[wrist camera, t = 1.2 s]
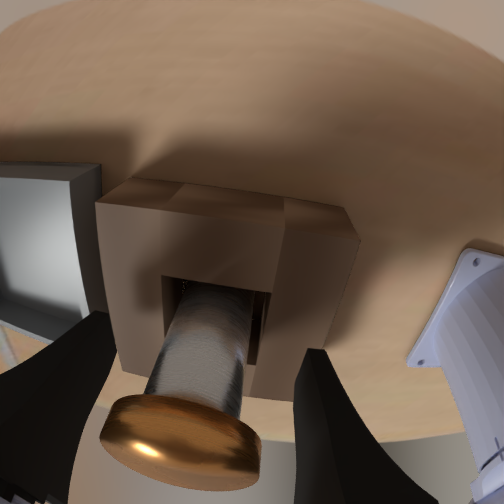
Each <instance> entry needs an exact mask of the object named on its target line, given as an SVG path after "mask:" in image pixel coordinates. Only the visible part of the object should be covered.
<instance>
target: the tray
mask: <svg viewBox="0 0 504 504" xmlns="http://www.w3.org/2000/svg"><path fill="white" fill-rule="evenodd" d="M101 197H102V188H101V164H85V163H61V162H0V324H1V325H3V326H5V327H7V328H10V329H12V330H14V331H17V332H19V333H21V334H24V335H26V336H29V337H31V338H33V339H36V340H39V341H41V342H44V343H46V344H51V343H52V342H54V341H55V340H56V339H58V338H59V337H60V336H62V335H63V334H64V333H66V332H67V331H68V330H70V329H71V328H72V327H73V326H75V325H76V324H77V323H79V322H80V321H81V320H82V319H84V318H85V317H86V316H88V315H89V314H90V313H92V312H93V311H95V310H97V311H101V312H105V313H109V308H108V302H107V297H106V291H105V285H104V278H103V272H102V265H101V257H100V249H99V241H98V231H97V221H96V208H95V202H96V201H97V200H99V199H100V198H101ZM109 316H110V313H109ZM110 321H111V318H110ZM111 326H112V323H111ZM112 330H113V328H112ZM113 335H114V332H113ZM114 339H115V337H114Z"/></svg>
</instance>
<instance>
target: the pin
mask: <svg viewBox="0 0 504 504" xmlns="http://www.w3.org/2000/svg"><path fill="white" fill-rule="evenodd" d="M254 298H255V290H249V289H242V288H236V287H230V286H223V285H217V284H211V283H205V282H199V281H193V280H189V282H188V285H187V287H186V289H185V292H184V294H183V296H182V299H181V301H180V303H179V306H178V308H177V310H176V313H175V315H174V318H173V320H172V323H171V325H170V327H169V330H168V332H167V335H166V337H165V340H164V342H163V345H162V347H161V350H160V352H159V355H158V357H157V360H156V362H155V365H154V367H153V370H152V372H151V375H150V378H149V380H148V383H147V385H146V388H145V391H144V393H143V394H139V395H130V396H126V397H122V398H120V399H118V400H117V401H116V402H114V404H113V405H112V407H111V409H110V412H109V414H108V416H107V419H106V421H105V424H104V426H103V428H102V431H101V433H100V442H101V444H102V446H103V447H104V449H105V450H106V451H107V452H108V453H109V454H110V455H111V456H113V457H114V458H115V459H116V460H118V461H119V462H121V463H122V464H124V465H125V466H127V467H129V468H130V469H132V470H134V471H136V472H139V473H140V474H142V475H145V476H147V477H150V478H152V479H155V480H158V481H161V482H164V483H167V484H171V485H174V486H179V487H183V488H188V489H195V490H204V491H233V490H238V489H243V488H247V487H249V486H252V485H253V484H255V483H256V482H257V481H258V479H259V473H260V460H261V448H262V445H261V440H260V438H259V436H258V435H257V433H256V432H255V431H254V430H253V429H252V428H250V427H249V426H248V425H246V424H245V423H243V422H242V421H240V413H241V405H242V397H243V389H244V380H245V372H246V364H247V356H248V348H249V340H250V331H251V323H252V315H253V306H254Z"/></svg>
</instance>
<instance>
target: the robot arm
mask: <svg viewBox="0 0 504 504" xmlns="http://www.w3.org/2000/svg"><path fill="white" fill-rule="evenodd" d="M476 258H477V259H476ZM475 259H476V261H475V262H473V261H474V260H475ZM116 353H117V348H116V344H115V339H114V335H113V330H112V326H111V321H110V316H109V313H105V312H101V311H97V310H95V311H93V312H92V313H90V314H89V315H88V316H86V317H85V318H84V319H82V320H81V321H80V322H79V323H77V324H76V325H75V326H73V327H72V328H71V329H70V330H68V331H67V332H66V333H64V334H63V335H62V336H60V337H59V338H58V339H56V340H55V341H54V342H52V343H51V344H49V345H48V346H47V347H45V348H44V349H42V350H41V351H39V352H38V353H37V354H35V355H34V356H32V357H31V358H29V359H27V360H26V361H24V362H23V363H21V364H19V365H17V366H16V367H14V368H12V369H10V370H8V371H6V372H4V373H2V374H0V504H34V503H35V501H37V502H38V503H40V504H44V503H45V501H46V502H48V503H50V504H68V494H69V486H70V480H71V475H72V470H73V465H74V461H75V456H76V453H77V449H78V445H79V442H80V439H81V435H82V432H83V429H84V426H85V423H86V421H87V419H88V416H89V414H90V412H91V410H92V408H93V406H94V404H95V402H96V400H97V398H98V396H99V394H100V392H101V390H102V388H103V385H104V383H105V381H106V379H107V377H108V375H109V373H110V370H111V367H112V365H113V362H114V359H115V356H116ZM406 363H407V366H409V367H442V370H443V372H444V375H445V377H446V379H447V382H448V384H449V387H450V389H451V392H452V395H453V397H454V400H455V403H456V405H457V408H458V411H459V413H460V416H461V419H462V422H463V425H464V428H465V431H466V433H467V437H468V440H469V443H470V446H471V449H472V453H473V456H474V460H475V463H476V466H477V470H478V473H479V474H480V475H479V477H478V478H477V479H475V480H474V481H473V482H471V483H470V485H471V490H472V494H473V498H472V500H471V501H470V502H469V504H504V256H500V255H496V254H492V253H488V252H484V251H480V250H476V249H472V248H467V249H465V250H464V251H463V252H462V253H461V255H460V257H459V259H458V262H457V264H456V266H455V268H454V271H453V273H452V275H451V277H450V279H449V281H448V283H447V286H446V288H445V290H444V292H443V294H442V296H441V298H440V300H439V302H438V304H437V306H436V307H435V309H434V311H433V313H432V315H431V317H430V319H429V321H428V322H427V324H426V326H425V328H424V329H423V331H422V333H421V335H420V336H419V338H418V340H417V342H416V343H415V345H414V347H413V348H412V350H411V352H410V353H409V355H408V356H407V358H406ZM293 413H294V429H295V444H296V468H297V469H296V484H295V496H294V504H439V503H438V500H436V499H435V498H434V497H433V496H431V495H430V494H428V493H427V492H426V491H425V490H423V489H422V488H421V487H420V486H418V485H417V484H416V483H415V482H414V481H413V480H412V479H411V478H410V477H409V476H407V475H406V474H405V473H404V472H403V471H402V469H401V468H400V467H399V466H398V465H397V464H396V463H395V462H394V461H393V460H392V459H391V458H390V457H389V455H388V454H387V453H386V452H385V451H384V449H383V448H382V447H381V446H380V444H379V443H378V442H377V441H376V439H375V438H374V437H373V435H372V434H371V432H370V431H369V430H368V428H367V427H366V425H365V424H364V422H363V421H362V419H361V417H360V416H359V414H358V413H357V411H356V409H355V408H354V406H353V404H352V402H351V401H350V399H349V397H348V395H347V393H346V392H345V390H344V388H343V386H342V384H341V382H340V380H339V378H338V376H337V374H336V372H335V370H334V368H333V366H332V363H331V361H330V359H329V357H328V355H327V352H326V351H325V350H324V349H314V348H307V351H306V354H305V356H304V359H303V362H302V364H301V367H300V370H299V372H298V375H297V377H296V380H295V383H294V401H293Z"/></svg>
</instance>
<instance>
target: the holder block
mask: <svg viewBox="0 0 504 504" xmlns="http://www.w3.org/2000/svg"><path fill="white" fill-rule="evenodd" d="M95 208H96V221H97V231H98V241H99V249H100V257H101V265H102V272H103V278H104V285H105V291H106V297H107V302H108V308H109V313H110V318H111V323H112V328H113V332H114V337H115V341H116V346H117V350H118V354H119V358H120V362H121V366H122V370H123V371H125V372H128V373H132V374H136V375H140V376H144V377H148V378H150V375H151V372H152V370H153V367H154V365H155V362H156V360H157V357H158V355H159V352H160V350H161V347H162V345H163V342H164V340H165V337H166V335H167V332H168V330H169V327H170V325H171V323H172V320H173V318H174V315H175V313H176V310H177V308H178V306H179V303H180V301H181V299H182V279H187V280H193V281H199V282H205V283H211V284H217V285H223V286H230V287H236V288H242V289H249V290H255V291H262V292H266V294H265V299H264V304H263V309H262V314H261V319H260V321H259V320H252V323H251V331H250V340H249V348H248V356H247V364H246V372H245V380H244V389H243V396H247V397H254V398H262V399H271V400H280V401H291V402H293V401H294V383H295V380H296V377H297V375H298V372H299V370H300V367H301V364H302V362H303V359H304V356H305V354H306V351H307V348H314V349H322V348H323V345H324V343H325V340H326V338H327V335H328V333H329V330H330V328H331V325H332V322H333V320H334V317H335V315H336V312H337V309H338V306H339V304H340V301H341V298H342V295H343V293H344V290H345V287H346V284H347V281H348V278H349V275H350V272H351V269H352V266H353V263H354V260H355V257H356V254H357V251H358V248H359V245H360V242H361V241H360V239H359V237H358V235H357V233H356V231H355V229H354V227H353V225H352V223H351V221H350V219H349V217H348V215H347V213H346V211H345V209H344V208H342V207H337V206H332V205H326V204H321V203H315V202H309V201H304V200H298V199H292V198H286V197H280V196H273V195H267V194H261V193H254V192H247V191H240V190H233V189H226V188H219V187H211V186H203V185H195V184H187V183H178V182H169V181H160V180H150V179H140V178H129V179H127V180H126V181H124V182H123V183H121V184H120V185H119V186H117V187H116V188H114V189H113V190H111V191H110V192H108V193H107V194H106V195H104V196H103V197H101V198H100V199H99V200H97V201H96V202H95Z"/></svg>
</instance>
